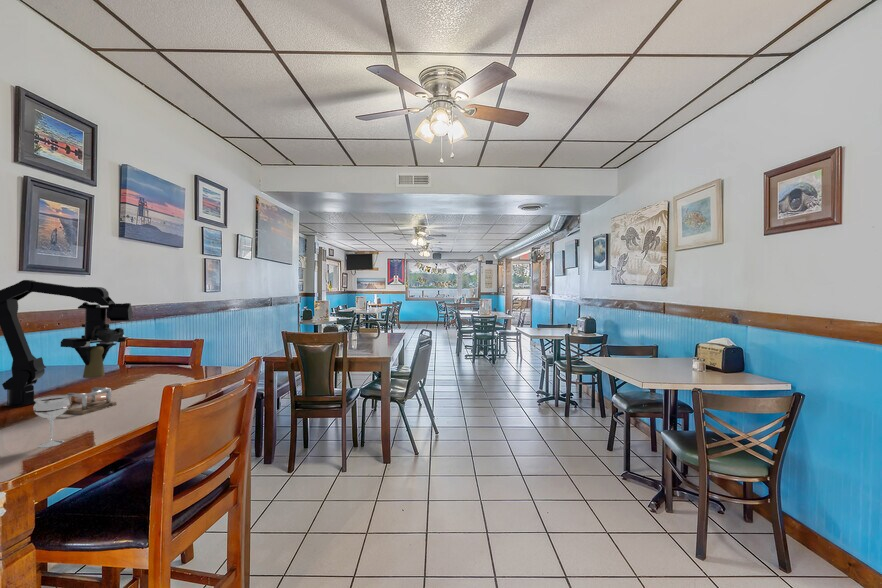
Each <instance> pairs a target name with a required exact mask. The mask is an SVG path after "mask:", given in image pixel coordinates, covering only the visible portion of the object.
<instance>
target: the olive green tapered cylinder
mask: <svg viewBox="0 0 882 588" xmlns="http://www.w3.org/2000/svg"><path fill="white" fill-rule="evenodd" d="M92 346H93V348H92V349H91V351H90V363H89V365H85V364H84V369H83V374H82V378H84V379H95V378H101V377H104V376H105V366H104V361H103V359H102V354H103V353H104V348H103V347H102V346H96V345H92Z"/></svg>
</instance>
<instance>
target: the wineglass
mask: <svg viewBox="0 0 882 588" xmlns="http://www.w3.org/2000/svg"><path fill="white" fill-rule="evenodd" d="M69 396H70V395H67V394H51V395H45V396H44V395H43V396H40V397H36V398H34V401H35V402H36V403H34V405H33V407H32V409H33V412H34V414H35V415H37V416H38V417H40V418H44V419H47V420H48V421H49V440H48V441H47V440H46V441H45V442H41V443H39V444H37V448H42V449H43V448H50V447H56V446H59V445H61V444H64V443H65V440H60V439H53V435H54V422H55V419H57V418H58V417H59V416H61V415H63V414H65V413H64V412H65V411H66V410H68V408H69V405H70V401H69V400H68V398H69ZM63 442H64V443H63Z"/></svg>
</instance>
